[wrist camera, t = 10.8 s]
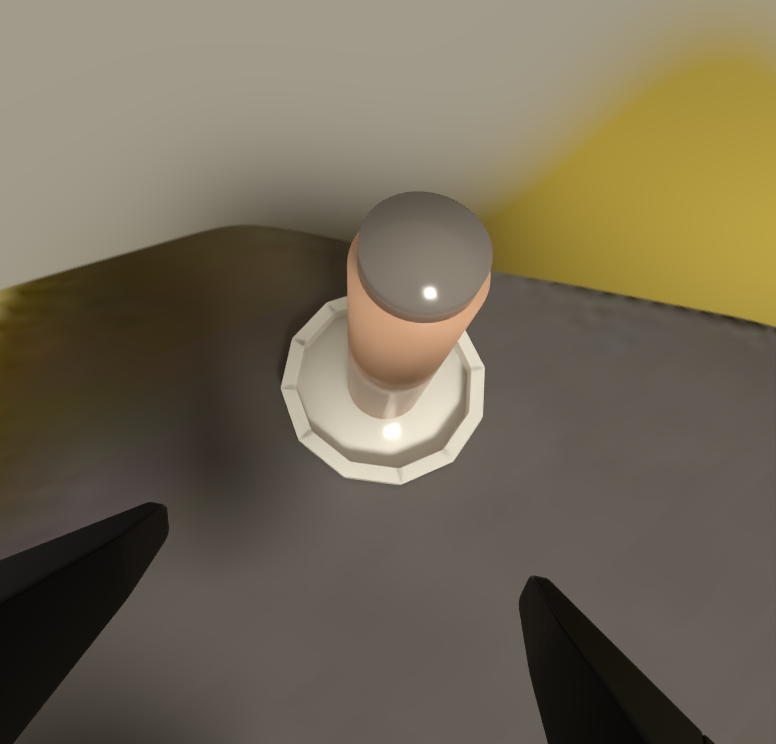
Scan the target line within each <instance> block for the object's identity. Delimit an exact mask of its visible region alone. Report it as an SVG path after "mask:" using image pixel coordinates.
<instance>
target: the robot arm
mask: <svg viewBox="0 0 776 744" xmlns="http://www.w3.org/2000/svg"><path fill="white" fill-rule="evenodd" d="M168 532H169V524H168V514H167V507H166V506H165V505H163V504H159V503H153V502H148V503H145V504H142V505H140V506H137V507H134V508H132V509H129V510H127V511H124V512H122V513H119V514H117V515H114V516H112V517H109V518H107V519H104V520H101V521H99V522H96V523H94V524H91V525H89V526H86V527H84V528H81V529H79V530H76V531H74V532H71V533H68V534H66V535H63V536H61V537H58V538H56V539H53V540H51V541H48V542H46V543H43V544H40V545H38V546H35V547H33V548H30V549H28V550H25V551H23V552H20V553H18V554H15V555H13V556H10V557H7V558H5V559H2V560H0V744H13V743H14V742H15V740H16V739H17V738H18V737H19V735H20V734H21V733H22V732H23V730H24V729H25V728H26V726H27V725H28V724H29V723H30V721H31V720H32V719H33V718H34V716H35V715H36V714H37V713H38V711H39V710H40V709H41V707H42V706H43V705H44V704H45V702H46V701H47V700H48V699H49V697H50V696H51V695H52V694H53V692H54V691H55V690H56V688H57V687H58V686H59V685H60V683H61V682H62V681H63V680H64V678H65V677H66V676H67V675H68V673H69V672H70V671H71V669H72V668H73V667H74V666H75V664H76V663H77V662H78V661H79V659H80V658H81V657H82V655H83V654H84V653H85V652H86V650H87V649H88V648H89V647H90V645H91V644H92V643H93V642H94V640H95V639H96V638H97V636H98V635H99V634H100V633H101V631H102V630H103V629H104V628H105V626H106V625H107V624H108V623H109V621H110V620H111V619H112V617H113V616H114V615H115V614H116V612H117V611H118V610H119V609H120V607H121V606H122V605H123V603H124V602H125V601H126V599H127V598H128V597H129V595H130V594H131V593H132V591H133V590H134V588H135V587H136V585H137V584H138V582H139V581H140V579H141V577H142V576H143V574H144V573H145V571H146V570H147V568H148V567H149V565H150V563H151V562H152V560H153V559H154V557H155V556H156V554H157V553H158V551H159V550H160V548H161V546H162V545H163V543H164V542H165V540H166V538H167V535H168ZM519 612H520V618H521V624H522V630H523V637H524V643H525V649H526V655H527V661H528V667H529V672H530V677H531V681H532V685H533V689H534V693H535V696H536V700H537V704H538V708H539V711H540V715H541V719H542V723H543V727H544V730H545V734H546V738H547V742H548V744H714V743H713V742H712V741H711V740H710V739H709V738H708V737H707V736H706V735H702V732H701V731H700V729H699V728H697V727H696V726H695V725H694V724H693V723H692V722H691V721H690V720H689V719H688V718H687V717H686V716H685V715H684V714H683V713H682V712H681V711H680V710H679V709H678V708H677V707H676V706H675V705H674V704H673V703H672V702H671V701H670V700H669V699H668V698H667V697H666V696H665V695H664V694H663V693H662V692H661V691H660V690H659V689H658V688H657V687H656V686H655V685H654V684H653V683H652V682H651V681H650V680H649V679H648V678H647V677H646V676H645V675H644V674H643V673H642V672H641V671H640V670H639V669H638V668H637V667H636V666H635V665H634V664H633V663H632V662H631V661H630V660H629V659H628V658H627V657H626V656H625V655H624V654H623V653H622V652H621V651H620V650H619V649H618V648H617V647H616V646H615V645H614V644H613V643H612V642H611V641H610V640H609V639H608V638H607V637H606V636H605V635H604V634H603V633H602V632H601V631H600V630H599V629H598V628H597V627H596V626H595V625H594V624H593V623H592V622H591V621H590V620H589V619H588V618H587V617H586V616H585V615H584V614H583V613H582V612H581V611H580V610H579V609H578V608H577V607H576V606H575V605H574V604H573V603H572V602H571V601H570V600H569V599H568V598H567V597H566V596H565V595H564V594H563V593H562V592H561V591H560V590H559V589H558V588H557V587H556V586H555V585H554V584H553V583H552V582H551V581H550V580H549V579H547V578H544V577H539V576H530V577H529V579H528V581H527V583H526V585H525V587H524V589H523V591H522V593H521V595H520V599H519Z"/></svg>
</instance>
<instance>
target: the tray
mask: <svg viewBox="0 0 776 744" xmlns="http://www.w3.org/2000/svg"><path fill="white" fill-rule="evenodd" d="M484 371H485V367H484V365H483V363H482V362H481V360H480V358H479V356H478V354H477V352H476V350H475V348H474V346H473V344H472V342H471V340H470V338H469V336H468V335H467V333H466V331H464V333H463V334H462V335H461V337H460V338H459V340H458V341H457V343H456V344H455V346H454V347H453V349H452V350H451V352H450V353H449V355H448V356H447V358H446V359H445V361H444V362H443V364H442V365H441V367H440V368H439V369H438V371H437V372H436V374H435V375H434V377H433V378H432V380H431V381H430V383H429V384H428V386H427V387H426V389H425V390H424V392H423V393H422V395H421V396H420V398H419V399H418V400H417V402H416V403H415V405H414V406H413V407H412V408H411V409H410V410H409V411H408V412H407V413H405V414H404V415H402V416H400V417H397V418H393V419H378V418H374V417H371V416H369V415H367V414H365V413H364V412H362V411H361V410H360V409H359V408H358V407H357V406H356V405H355V403H354V402H353V400H352V398H351V395H350V393H349V388H348V307H347V296H346V297H342V298H339V299H336V300H333V301H330V302H327V303H326V304H325V305H324V306H323V307H322V308H321V309H320V310H319V311H318V312H317V313H316V314H315V315H314V316H313V317H312V318H311V319H310V320H309V321H308V322H307V323H306V325H305V326H304V327H303V328H302V329H301V330H300V331H299V332H298V333H297V334H296V335H295V336H294V337H293V338H292V341H291V346H290V350H289V354H288V359H287V363H286V367H285V372H284V376H283V380H282V385H281V391H282V394H283V397H284V400H285V402H286V405H287V408H288V411H289V414H290V417H291V420H292V422H293V425H294V428H295V431H296V434H297V437H298V440H299V441H300V442H301V443H302V444H303V445H304V446H305V447H307V448H308V449H309V450H310V451H311V452H313V453H314V454H315V455H316V456H318V457H319V458H320V459H321V460H322V461H324V462H325V463H326V464H328V465H329V466H330V467H331V468H332V469H334V470H335V471H336V472H337V473H339V474H340V475H341V476H342V477H344V478H349V479H356V480H364V481H370V482H378V483H386V484H393V485H401V484H404V483H406V482H408V481H410V480H413V479H415V478H417V477H419V476H422V475H424V474H426V473H428V472H431V471H433V470H435V469H437V468H440V467H442V466H444V465H447V464H449V463H451V462H453V461H454V459H455V458H456V457H457V455H458V454H459V452H460V451H461V449H462V448H463V446H464V445H465V443H466V442H467V440H468V439H469V437H470V436H471V434H472V433H473V431H474V430H475V428H476V427H477V425H478V424H479V422H480V421H481V419H482V418H483V396H484Z"/></svg>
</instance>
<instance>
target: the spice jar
mask: <svg viewBox="0 0 776 744" xmlns="http://www.w3.org/2000/svg"><path fill="white" fill-rule="evenodd" d="M492 259H493V251H492V244H491V240H490V237H489V235H488V233H487V231H486V229H485V227H484V225H483V224H482V223H481V221H480V220H479V219H478V218H477V217H476V216H475V214H474V213H472V212H471V211H470V210H469V209H468V208H466V207H465V206H464V205H462V204H460V203H459V202H457V201H455V200H453V199H451V198H448V197H446V196H443V195H440V194H435V193H430V192H406V193H402V194H397V195H395V196H392V197H389V198H387V199H385V200H383V201H382V202H381V203H379V204H377V205H376V206H375V207H374V208H373V209H372V210H371V211H370V212H369V213H368V215H367V216H366V218H365V219H364V221H363V223H362V226H361V228H360V231H359V232H358V234H357V235H356V237H355V238H354V240H353V242H352V244H351V247H350V249H349V253H348V260H347V307H348V388H349V393H350V395H351V398H352V400H353V402H354V403H355V405H356V406H357V407H358V408H359V409H360V410H361V411H362V412H364V413H365V414H367V415H369V416H371V417H374V418H378V419H393V418H397V417H400V416H402V415H404V414H405V413H407V412H408V411H409V410H410V409H411V408H412V407H413V406H414V405H415V403H416V402H417V400H418V399H419V398H420V396H421V395H422V393H423V392H424V390H425V389H426V387H427V386H428V384H429V383H430V381H431V380H432V378H433V377H434V375H435V374H436V372H437V371H438V369H439V368H440V367H441V365H442V364H443V362H444V361H445V359H446V358H447V356H448V355H449V353H450V352H451V350H452V349H453V347H454V346H455V344H456V343H457V341H458V340H459V338H460V337H461V335H462V334H463V333H464V331H465V330H466V328H467V327H468V325H469V324H470V322H471V321H472V319H473V318H474V316H475V315H476V313H477V312H478V310H479V309H480V307H481V306H482V304H483V302H484V301H485V299H486V296H487V294H488V291H489V287H490V278H491V275H490V270H491V265H492Z"/></svg>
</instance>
